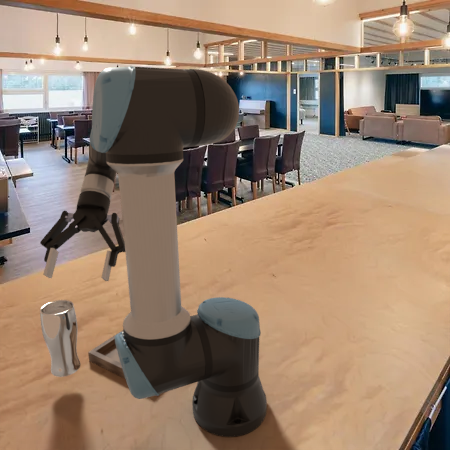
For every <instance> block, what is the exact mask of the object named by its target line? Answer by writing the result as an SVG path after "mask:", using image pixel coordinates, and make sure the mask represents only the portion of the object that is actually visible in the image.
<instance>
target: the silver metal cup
mask: <svg viewBox="0 0 450 450" xmlns="http://www.w3.org/2000/svg"><path fill="white" fill-rule="evenodd" d="M74 305H75V304H74V302H73V301H72V300H69V299H58V300H52V301H50V302H46V303H45V304H44V305H42V306H41V307H40V309H39V314H40V326H41V332H42V336H43V340H44V343H45V345H46V347H47V349H48V353H49V356H50V361H51V362H50V363H51V364H50V372H51V374H52V375H53V376H55V377H56V378H57V377H58V378H63V377H68V376H71V375H73V374H75V373H76V372H78V370H79V369H80V368H81V360H80V358H79V356H78V352H77V351H78V349H77V345H78V318H77V314H76V309H75V306H74Z"/></svg>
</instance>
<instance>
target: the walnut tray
mask: <svg viewBox="0 0 450 450" xmlns="http://www.w3.org/2000/svg"><path fill="white" fill-rule="evenodd" d="M120 332H124V331H123V330H121V331H120ZM120 332H118V333H120ZM114 337H115V335H113V336H111V337H110V338H108V339H107V340H105V341H104V342H102V343H101V344H98V345H97V346H95V347H94V348H92V349H90V350H89V351H88V353H87V354H88V361H89V362H91V363H92V364H94V365H96V366H99V367H101V368H102V369H105V371H109V372H110V373H112V374H114V375H117V376H119V377H121V378H122V379H125V376H124V372H123V369H122V366H121V362H120V359H119V356H118V352H117V348H116V344H115V339H114Z"/></svg>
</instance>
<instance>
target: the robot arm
mask: <svg viewBox="0 0 450 450" xmlns="http://www.w3.org/2000/svg"><path fill="white" fill-rule="evenodd" d="M92 96H93V97H92V105H91V106H92V109H91V110H92V111H91V129H90V134H89V151H88V160H87V166H86V169H85V174H84V177H83V180H82V184H81V187H80V193H79V197H78V200H77V204H76V209H75V211H74V212H68V211H67V210H62V212H61V214H60V216H59V219H58V220H57V221H56V222H55V224H54V225H52V227H51V228H50V230H49V231H48V232H47V233H46V234H45V236H44V237H43V238H42V239H41V240H40V245H41V246H42V247H44V248H45V249H46V252H45V255H44V260H43V261H44V262H45V263H46V264H45V266H44V270H43V274H42V275H43V276H45V277H46V278H48V279H52V278H53V275H54V271H55V268H56V264H57V260H58V256H59V253H60V252H59V251H58V249H59V248H60V247H62V246H63V245H64V244H65V243H66V242H67V241H69V240H70V239H71V238H72V237H73V236H75V235H76V234H80V232H84V233H86V232H91V233H96V232H98V231H99V234H100V235H101V236H102V238H103V239H104V241H105V243H106V244H107V246H108V247H109V249H110V250H107V251H106V255H105V259H104V265H103V269H102V274H101V279H102V280H104V282H109V281H110V276H111V270H112V267H113V268H114V267H116V265H117V260H118V257H119V256H118V255H119V254H120V253H125V262H126V272H127V273H126V274H127V284H128V295H129V305H130V312H129V313H128V314H127V315H126V316H125V317H124V319H123V322H122V327H123V328H122V329H123V331H124V332H121V331H120V333H119V332H118V333H116V334H114V336H115V337H114V339H115V344H116V348H117V352H118V356H119V359H120V362H121V366H122V369H123V372H124V376H125V378H124V380H125V381H126V384H127V387H128V389H129V392H130V394H131V396H133V398H135V399H137V400H142V399H143V400H144V399H147V398H150V397H154V396H157V397H159V396H160V395H161V394H163V393H164V394H165V393H166V392H170V391H173V390H177V389H180V388H183V387H185V386H188V385H192V384H196V386H195V389H194V392H193V395H192V400H191V402H192V404H191V405H192V415H193V417H194V420H195V421H196V423H197V424H198V425H199V426H200V427H201V428H202V429H204V430H205V431H206V432H208V433H211V434H213V435H215V436H220V437H225V438H226V437H238V436H239V437H240V436H244V435H247V434H249V433H251V432H252V431H255V430H257V428H259V427H260V425H261V424H263V421H264V420H265V418H266V415H267V402H268V401H267V395H266V393H265V390H264V388H263V384H262V380H261V379H260V374H259V372H260V371H259V368H260V366H259V365H260V339H261V338H260V336H261V326H260V325H261V324H260V316H259V313H258V312H257V310H256V309H255V308H254V307H253V306H252V305H251V304H250V303H249V304H248V303H247V302H245V301H242V300H239V299H236V298H231V297H223V296H221V297H220V296H219V297H211V298H208V299H205V300H203V301H202V302H201V303H199V304H198V307H197V309H196V314H193V315H191V314H190V312H189V310H187V309H186V308H185V307H183V306H182V294H181V277H180V272H181V271H180V258H179V257H180V255H179V239H178V236H179V235H178V219H177V201H176V181H175V179H176V177H175V171H176V169H177V168H178V167H179V166H180V165H181V163H183V161H184V148H190V147H199V146H207V145H212V144H215V143H219V142H221V141H223V140H225V139H226V138H228V137H229V136H230V135H231V134H232V133H233V132H234V130H235V128H236V126H237V124H238V121H239V117H240V105H239V102H238V98H237V95H236V93H235V92H234V90H233V89H232V87H231V86H230V85H229V83H228V82H226V81H225V80H224V79H223V78H221V77H220V76H218V75H217V74H215V73H213V72H211V71H208V70H204V69H200V68H199V69H197V68H196V69H195V68H189V69H184V68H169V67H168V68H167V67H153V66H152V67H151V66H149V67H148V66H133V65H130V66H120V67H117V66H116V67H107V68H104V69H103V70H102V71H100V73H99V74H98V76H97V77H96V80H95V83H94V89H93V95H92ZM117 176H118V184H119V185H118V187H119V197H120V206H121V207H120V208H121V209H120V210H121V218H122V229H123V233H122V230H121V227H120V219H121V218H120V217H119V215H118V214H117V213H116V212H112V213H111V214H108V213H109V211H110V205H111V199H112V196H113V191H114V187H115V181H116V177H117ZM72 220H73V221H72ZM108 221H109V223H110V224H111V226H112V229H113V232H114V236H115V238H116V241H117V244H118V245H116V244H115V242H113V240H112V238H111V237H110V235H109V233H108V232H107V231H106V229H105V228H104V226H105V224H106V223H107V222H108Z"/></svg>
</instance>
